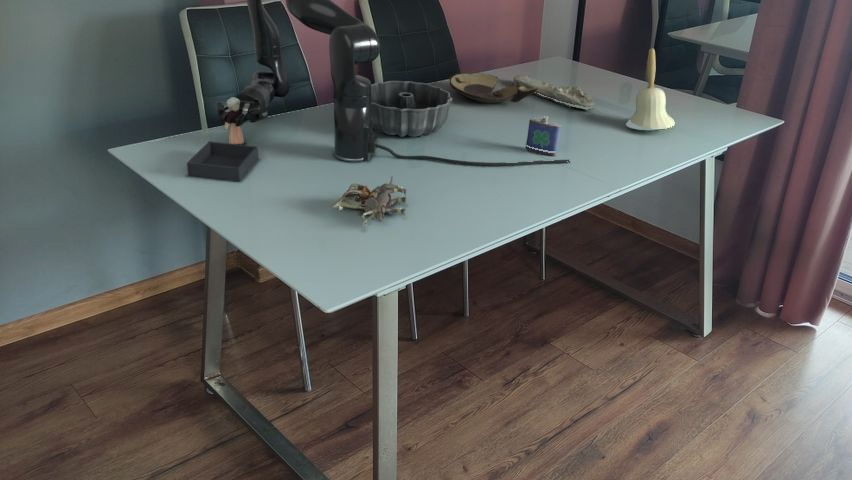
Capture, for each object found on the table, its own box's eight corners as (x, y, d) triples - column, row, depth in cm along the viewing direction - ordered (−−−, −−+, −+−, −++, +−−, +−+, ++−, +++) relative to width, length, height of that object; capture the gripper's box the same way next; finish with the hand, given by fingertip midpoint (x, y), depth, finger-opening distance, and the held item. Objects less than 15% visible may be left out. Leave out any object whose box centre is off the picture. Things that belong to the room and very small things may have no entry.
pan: (258, 159, 191) (257, 146, 189) (239, 181, 179) (238, 168, 177) (210, 154, 191) (208, 141, 189) (188, 176, 179) (186, 162, 177)
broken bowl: (482, 83, 265) (484, 61, 261) (544, 109, 248) (547, 86, 244) (433, 92, 251) (434, 69, 247) (494, 120, 234) (497, 96, 230)
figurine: (405, 211, 162) (325, 208, 160) (404, 235, 166) (326, 232, 164) (407, 169, 179) (334, 165, 177) (406, 191, 182) (335, 188, 180)
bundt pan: (340, 130, 214) (340, 95, 208) (386, 106, 235) (387, 74, 230) (424, 151, 206) (425, 116, 201) (464, 124, 228) (466, 92, 223)
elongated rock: (524, 84, 273) (505, 90, 267) (525, 70, 271) (505, 75, 264) (602, 108, 253) (583, 114, 247) (603, 92, 250) (584, 98, 244)
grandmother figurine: (237, 150, 194) (234, 103, 187) (223, 148, 194) (219, 100, 188) (250, 140, 201) (247, 93, 194) (236, 138, 201) (232, 91, 194)
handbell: (665, 137, 232) (667, 53, 221) (618, 133, 239) (618, 52, 228) (680, 125, 244) (684, 44, 233) (636, 121, 251) (637, 43, 240)
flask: (557, 154, 214) (563, 118, 209) (554, 157, 212) (559, 121, 207) (527, 147, 217) (531, 111, 211) (523, 150, 215) (528, 114, 209)
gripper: (225, 84, 204) (200, 104, 189) (277, 90, 204) (256, 110, 190) (227, 111, 208) (203, 133, 193) (278, 117, 208) (258, 139, 193)
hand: (230, 122), depth 191 cm, fingers closed on grandmother figurine, 3 cm apart
